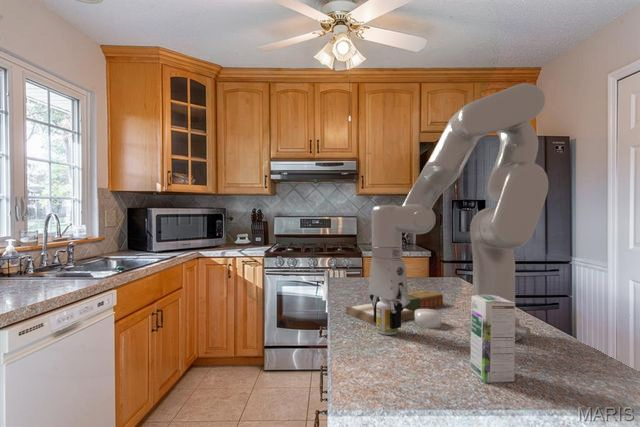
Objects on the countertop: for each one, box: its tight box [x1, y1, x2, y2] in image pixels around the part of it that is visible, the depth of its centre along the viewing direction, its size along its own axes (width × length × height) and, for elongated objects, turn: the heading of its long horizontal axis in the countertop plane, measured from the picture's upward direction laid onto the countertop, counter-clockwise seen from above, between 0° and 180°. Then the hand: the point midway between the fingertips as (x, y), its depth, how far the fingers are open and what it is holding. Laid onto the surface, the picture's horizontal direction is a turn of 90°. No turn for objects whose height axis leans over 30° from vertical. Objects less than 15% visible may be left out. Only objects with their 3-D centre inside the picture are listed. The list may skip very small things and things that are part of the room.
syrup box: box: [470, 295, 516, 384], centre depth 67 cm, size 6×6×14 cm
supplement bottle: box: [376, 297, 399, 336], centre depth 92 cm, size 5×5×10 cm
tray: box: [345, 302, 415, 326], centre depth 106 cm, size 14×14×2 cm
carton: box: [396, 289, 444, 312], centre depth 118 cm, size 8×16×4 cm, turn 119°
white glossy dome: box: [414, 308, 443, 329], centre depth 98 cm, size 7×7×4 cm
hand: (387, 323), depth 92 cm, fingers closed on supplement bottle, 5 cm apart
